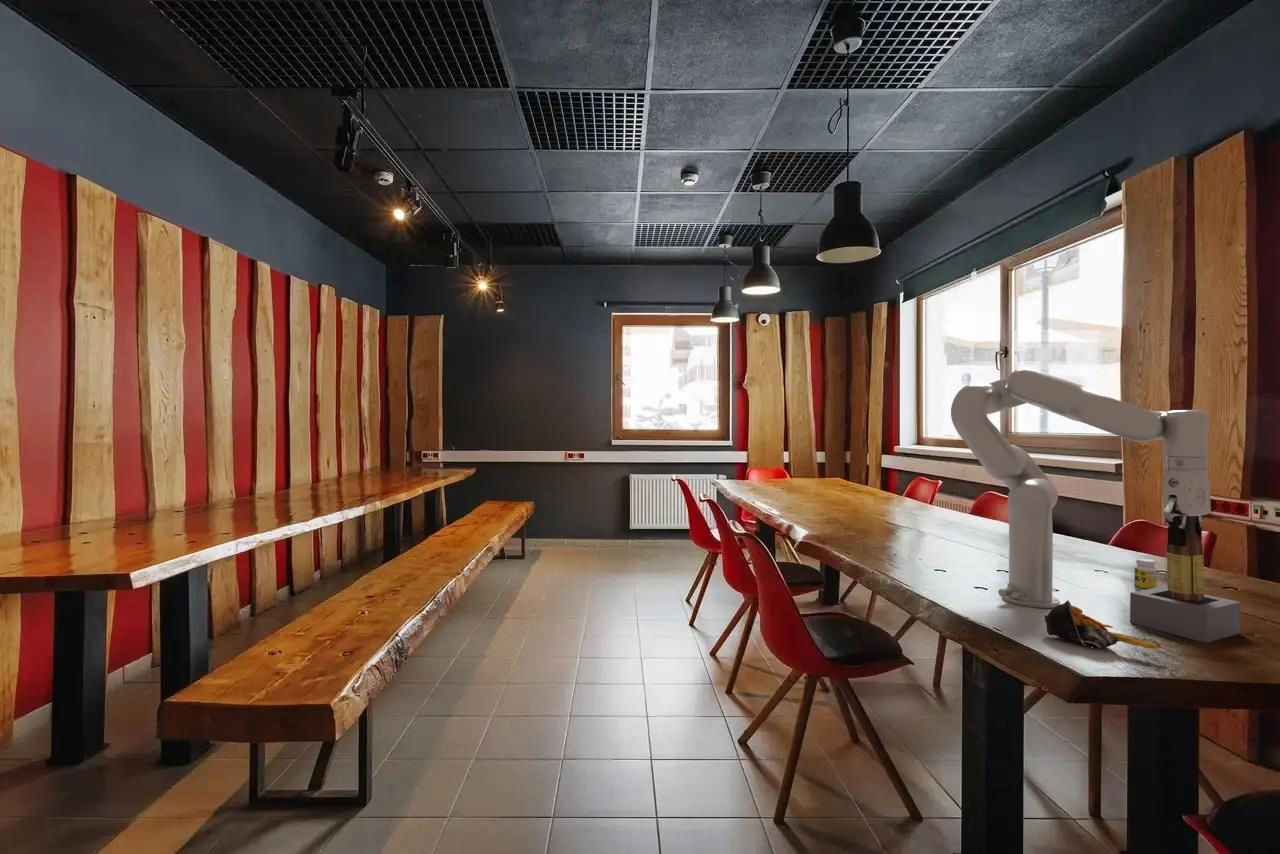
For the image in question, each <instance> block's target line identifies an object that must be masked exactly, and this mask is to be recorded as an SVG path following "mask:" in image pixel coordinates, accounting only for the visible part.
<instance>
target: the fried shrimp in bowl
mask: <svg viewBox="0 0 1280 854" xmlns="http://www.w3.org/2000/svg"><path fill="white" fill-rule="evenodd" d="M1043 617H1044V622H1045V625H1046V632H1047V634H1048V635H1049V636H1055V637H1058V638H1059V639H1061V640H1063V641H1067V642H1071V643H1078V644H1081V645H1083V646H1085V647H1087V646H1088V647H1087V648H1089V647H1093V648H1096V649H1095V650H1100V649H1101V648H1109V647H1111V646H1114V645H1116V644H1117V643H1119V642H1122V643H1125V644H1129V645H1132V646H1136V647H1143V648H1145V649H1160V648H1161V643H1160V642H1158V641H1156V640H1154V639H1151V638H1149V639H1147V638H1142V637H1141V636H1140V637H1138V636H1133V635H1127V634H1122V633H1116V632H1112V631H1110V630H1108V629H1107V628H1109V629H1112V628H1114V627H1113V626H1112V625H1109V624H1104V623H1102V622H1099V620H1095V618H1092V617H1090V616H1087V615H1086V614H1085V613H1084V614H1083V610H1082V609H1081V608H1080V607H1078V606H1074V605H1072V604H1071V601H1070V600H1066V601H1065V602H1064V603H1061V604H1060V605H1058V606H1056V607H1054V608H1051V610H1050V611H1049V613H1048V614H1045V615H1043ZM1093 648H1092V649H1093Z"/></svg>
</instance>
